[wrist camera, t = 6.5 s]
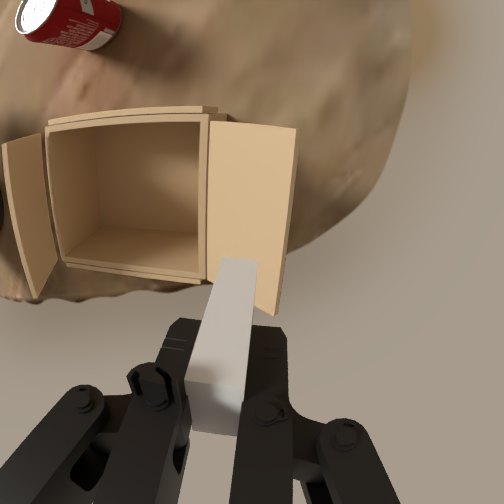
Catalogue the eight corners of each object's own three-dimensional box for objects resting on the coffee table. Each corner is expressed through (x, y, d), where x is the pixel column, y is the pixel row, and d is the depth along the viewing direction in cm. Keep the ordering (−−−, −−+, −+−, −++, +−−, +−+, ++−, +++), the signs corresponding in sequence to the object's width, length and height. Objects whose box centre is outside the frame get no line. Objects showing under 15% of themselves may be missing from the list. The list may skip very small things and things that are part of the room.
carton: (101, 233, 35) (63, 266, 27) (93, 113, 28) (44, 120, 20) (221, 243, 35) (205, 285, 27) (227, 108, 28) (209, 106, 20)
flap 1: (6, 143, 14) (1, 144, 14) (37, 298, 20) (33, 298, 20) (41, 132, 20) (36, 133, 20) (58, 259, 26) (54, 259, 26)
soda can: (124, 42, 24) (60, 22, 14) (77, 58, 25) (8, 51, 14) (125, -5, 21) (67, -37, 11) (79, 13, 22) (15, -5, 11)
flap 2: (273, 316, 21) (277, 313, 22) (296, 129, 16) (300, 129, 16) (207, 279, 25) (211, 277, 26) (210, 120, 19) (215, 120, 20)
